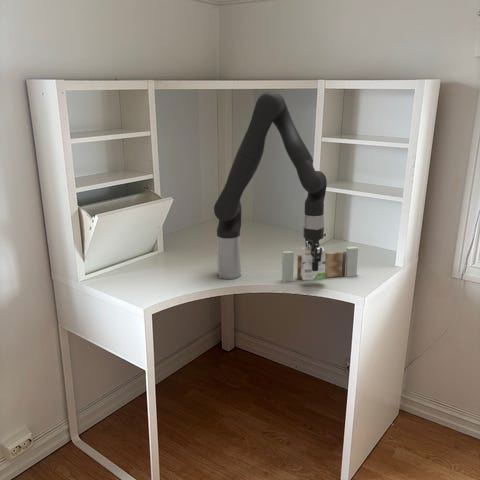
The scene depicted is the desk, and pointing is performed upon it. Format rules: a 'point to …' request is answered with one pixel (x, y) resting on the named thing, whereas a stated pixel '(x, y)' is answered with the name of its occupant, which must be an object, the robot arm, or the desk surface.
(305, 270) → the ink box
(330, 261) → the brown patterned panel
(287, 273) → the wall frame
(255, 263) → the desk surface
